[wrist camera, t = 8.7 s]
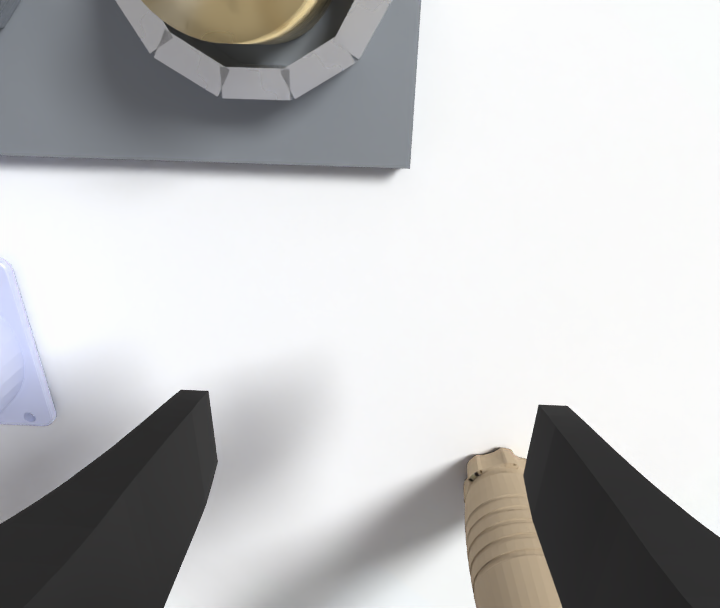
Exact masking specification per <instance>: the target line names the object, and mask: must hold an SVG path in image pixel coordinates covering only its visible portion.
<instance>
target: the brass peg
mask: <svg viewBox="0 0 720 608" xmlns="http://www.w3.org/2000/svg"><path fill="white" fill-rule="evenodd" d="M141 1H142V2H143V3H144V4H145V5H146V6H147V7H148V8H149V9H150V10H151V11H152V12H153V13H154V14H155V15H157V16H158V17H159V18H160V19H161V20H162V21H164V22H165V23H167V24H168V25H170V26H171V27H173V28H174V29H176V30H178V31H180V32H182V33H184V34H186V35H188V36H191V37H194V38H197V39H200V40H203V41H208V42H213V43H227V44H262V45H271V44H280V43H284V42H288V41H291V40H293V39H296V38H298V37H299V36H301V35H303V34H304V33H306V32H307V31H308V30H310V29H311V28H312V27H313V26H314V25H315V24H316V23H317V22H318V21H319V20H320V19H321V17H322V16H323V15H324V13H325V12H326V10H327V8H328V7H329V5H330V3H331V1H332V0H141Z"/></svg>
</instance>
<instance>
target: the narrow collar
mask: <svg viewBox="0 0 720 608" xmlns="http://www.w3.org/2000/svg"><path fill="white" fill-rule="evenodd" d="M21 1H22V0H0V28H5V27H6V25H7V23H8V22H9V20H10V19H11V17H12V15H13V14H14V12H15V11H16V9H17V8H18V6H19V4H20V3H21Z"/></svg>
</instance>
